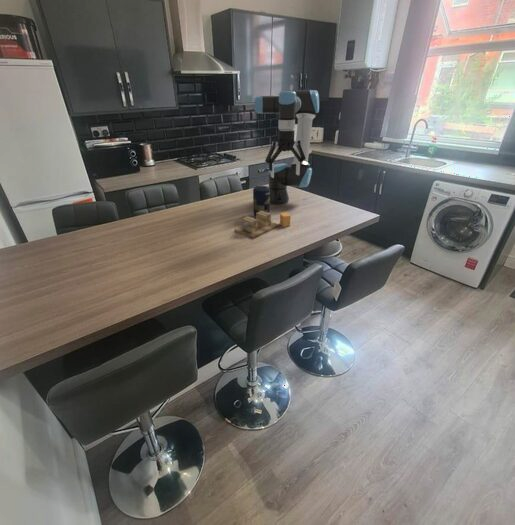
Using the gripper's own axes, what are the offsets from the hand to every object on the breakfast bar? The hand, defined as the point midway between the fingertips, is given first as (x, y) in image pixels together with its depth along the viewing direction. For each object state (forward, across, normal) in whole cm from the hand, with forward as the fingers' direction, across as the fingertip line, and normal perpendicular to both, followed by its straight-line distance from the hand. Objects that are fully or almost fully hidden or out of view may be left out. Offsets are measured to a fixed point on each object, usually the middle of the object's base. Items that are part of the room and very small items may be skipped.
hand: (285, 175), depth 146 cm
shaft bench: (+27, -15, -1) cm, 31 cm away
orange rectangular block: (+27, +1, 0) cm, 27 cm away
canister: (+27, -8, +16) cm, 32 cm away
